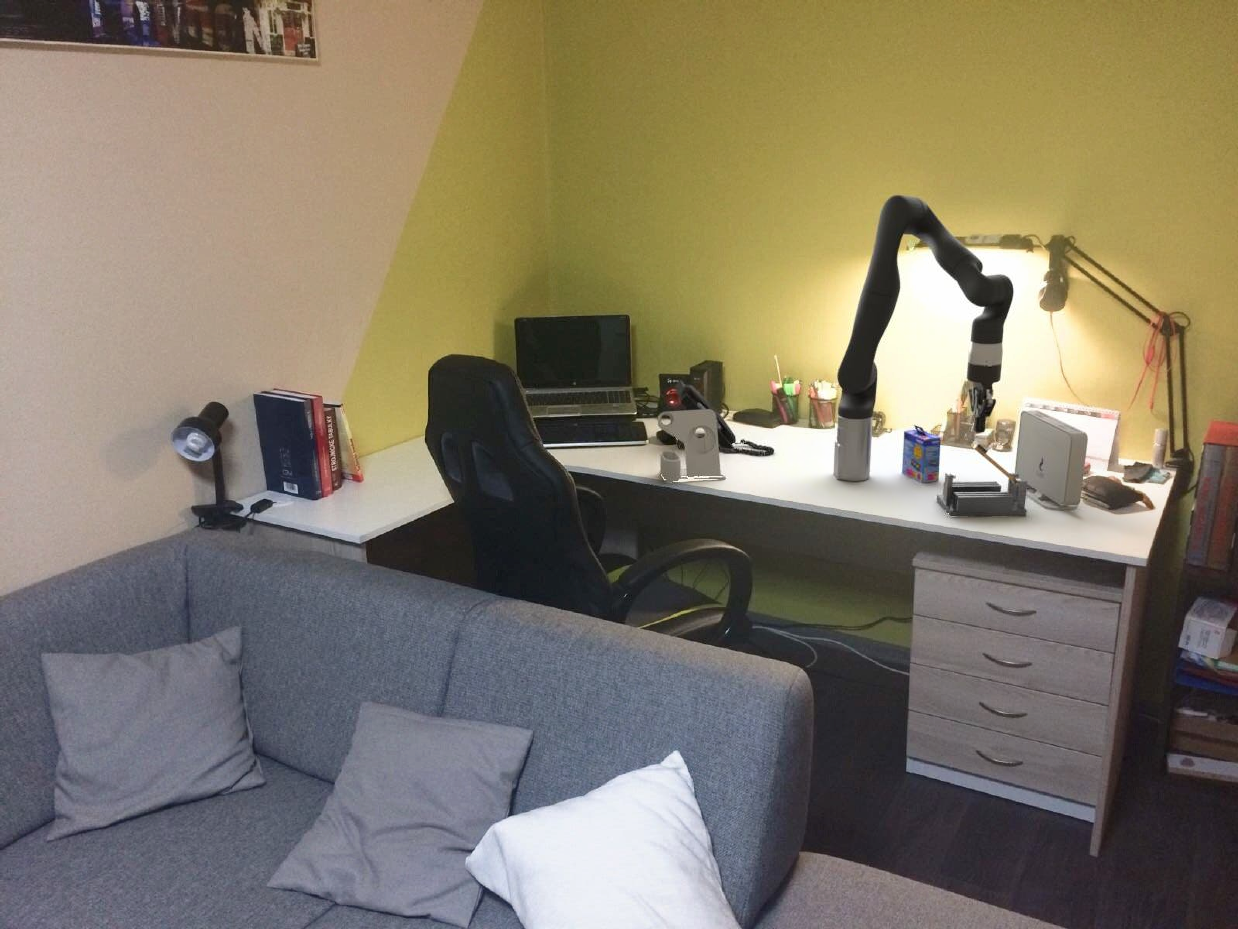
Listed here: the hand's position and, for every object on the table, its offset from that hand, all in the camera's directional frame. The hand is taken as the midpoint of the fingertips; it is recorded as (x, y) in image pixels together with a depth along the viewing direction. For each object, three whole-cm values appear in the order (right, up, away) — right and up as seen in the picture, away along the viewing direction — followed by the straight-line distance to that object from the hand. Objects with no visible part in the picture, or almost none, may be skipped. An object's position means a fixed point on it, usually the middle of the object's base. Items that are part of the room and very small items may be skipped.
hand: (979, 431), depth 234 cm
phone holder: (-67, -11, +36) cm, 76 cm away
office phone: (-55, -2, +67) cm, 86 cm away
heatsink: (+2, -19, +6) cm, 20 cm away
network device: (+22, -16, +13) cm, 30 cm away
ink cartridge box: (-5, -12, +31) cm, 33 cm away
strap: (+5, -9, +2) cm, 10 cm away
